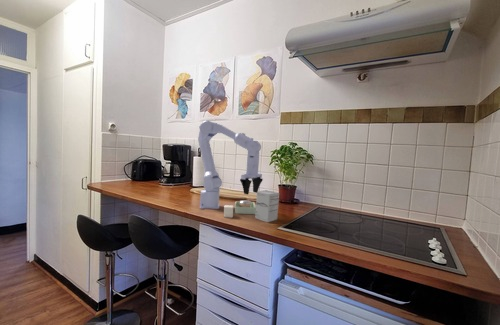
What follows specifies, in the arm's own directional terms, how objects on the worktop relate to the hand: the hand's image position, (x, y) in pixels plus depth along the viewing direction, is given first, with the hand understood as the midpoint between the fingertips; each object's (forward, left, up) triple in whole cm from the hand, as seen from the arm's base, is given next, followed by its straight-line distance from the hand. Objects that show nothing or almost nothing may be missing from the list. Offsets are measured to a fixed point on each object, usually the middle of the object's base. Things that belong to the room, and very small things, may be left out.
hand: (250, 193), depth 114 cm
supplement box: (+7, -11, -10) cm, 16 cm away
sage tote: (-2, +2, -10) cm, 10 cm away
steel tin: (-2, +3, -9) cm, 10 cm away
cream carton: (-10, -9, -10) cm, 17 cm away
